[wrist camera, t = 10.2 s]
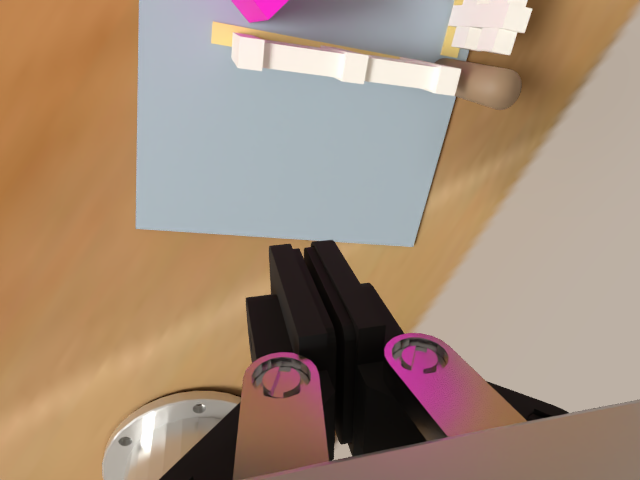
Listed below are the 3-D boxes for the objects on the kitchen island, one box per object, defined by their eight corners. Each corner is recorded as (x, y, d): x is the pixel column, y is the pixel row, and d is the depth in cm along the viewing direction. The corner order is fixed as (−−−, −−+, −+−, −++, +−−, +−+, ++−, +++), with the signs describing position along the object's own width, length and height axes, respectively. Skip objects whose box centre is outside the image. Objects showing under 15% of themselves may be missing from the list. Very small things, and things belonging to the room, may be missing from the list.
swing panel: (420, 60, 25) (466, 69, 21) (415, 82, 26) (459, 96, 21) (232, 32, 23) (239, 36, 18) (231, 58, 23) (237, 68, 19)
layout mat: (411, 244, 31) (414, 247, 31) (136, 226, 27) (135, 229, 26) (485, -19, 25) (490, -19, 25) (141, -106, 20) (140, -108, 20)
